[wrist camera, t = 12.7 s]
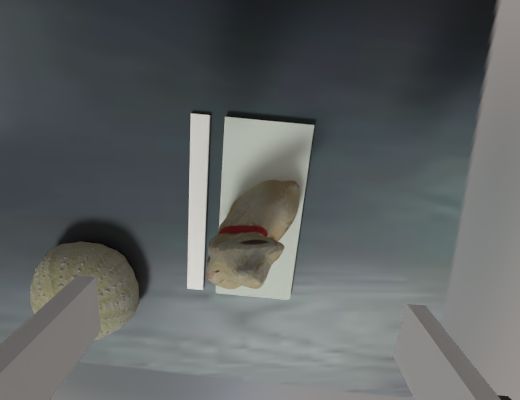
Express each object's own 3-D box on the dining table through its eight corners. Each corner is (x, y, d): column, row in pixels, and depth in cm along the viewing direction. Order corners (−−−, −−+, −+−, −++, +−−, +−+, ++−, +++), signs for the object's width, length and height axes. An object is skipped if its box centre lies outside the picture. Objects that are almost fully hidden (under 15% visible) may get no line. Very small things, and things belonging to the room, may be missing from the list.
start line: (191, 113, 23) (190, 113, 23) (210, 115, 23) (209, 115, 23) (187, 286, 28) (187, 288, 28) (203, 288, 28) (202, 290, 28)
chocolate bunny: (204, 195, 25) (165, 248, 15) (295, 172, 24) (314, 213, 14) (223, 252, 26) (198, 333, 17) (309, 233, 25) (334, 306, 16)
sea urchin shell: (136, 241, 25) (103, 346, 21) (158, 266, 32) (137, 348, 28) (28, 228, 25) (-25, 332, 21) (74, 256, 32) (40, 337, 28)
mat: (225, 116, 23) (224, 116, 23) (313, 124, 23) (314, 125, 23) (216, 289, 28) (215, 293, 27) (289, 296, 28) (289, 300, 27)
